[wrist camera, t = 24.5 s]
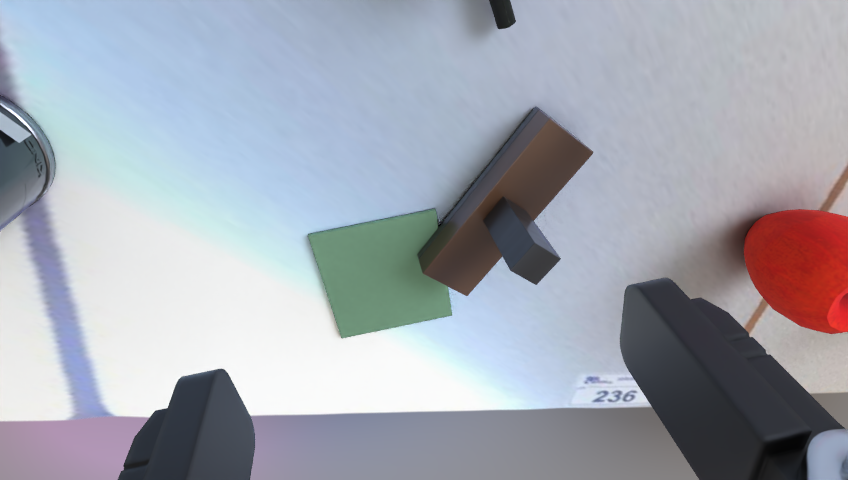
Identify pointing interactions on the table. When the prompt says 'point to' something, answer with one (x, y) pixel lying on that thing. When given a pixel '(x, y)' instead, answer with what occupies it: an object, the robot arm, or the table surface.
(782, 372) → the robot arm
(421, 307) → the rubber mat
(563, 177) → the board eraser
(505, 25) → the handheld radio
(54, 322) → the table surface
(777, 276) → the apple
